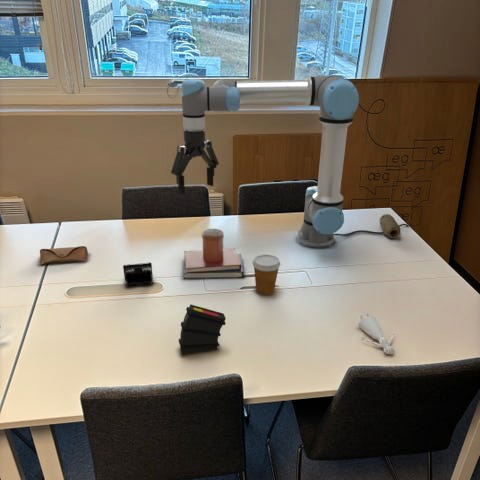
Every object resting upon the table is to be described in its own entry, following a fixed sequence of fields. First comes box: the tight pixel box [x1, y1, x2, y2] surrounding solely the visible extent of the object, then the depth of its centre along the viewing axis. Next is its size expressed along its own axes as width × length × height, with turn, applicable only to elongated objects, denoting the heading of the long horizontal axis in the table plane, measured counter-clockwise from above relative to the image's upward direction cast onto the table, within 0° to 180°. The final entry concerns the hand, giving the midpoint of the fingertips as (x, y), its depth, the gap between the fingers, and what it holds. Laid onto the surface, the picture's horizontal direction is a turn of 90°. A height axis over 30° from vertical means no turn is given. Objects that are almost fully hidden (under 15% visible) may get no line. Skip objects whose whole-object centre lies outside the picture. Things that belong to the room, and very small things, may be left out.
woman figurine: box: [358, 313, 396, 355], centre depth 153 cm, size 12×4×18 cm
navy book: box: [182, 253, 245, 280], centre depth 190 cm, size 22×15×3 cm
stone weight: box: [379, 213, 402, 239], centre depth 220 cm, size 15×7×7 cm, turn 5°
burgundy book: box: [183, 247, 241, 273], centre depth 189 cm, size 20×14×2 cm
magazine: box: [178, 303, 227, 356], centre depth 145 cm, size 4×13×15 cm, turn 106°
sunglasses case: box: [38, 245, 89, 266], centre depth 195 cm, size 18×7×7 cm, turn 104°
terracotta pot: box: [201, 228, 225, 262], centre depth 186 cm, size 8×8×10 cm
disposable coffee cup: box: [252, 254, 281, 296], centre depth 175 cm, size 10×10×12 cm
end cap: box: [122, 261, 154, 289], centre depth 180 cm, size 10×7×7 cm
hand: (196, 189), depth 186 cm, fingers open, 13 cm apart
